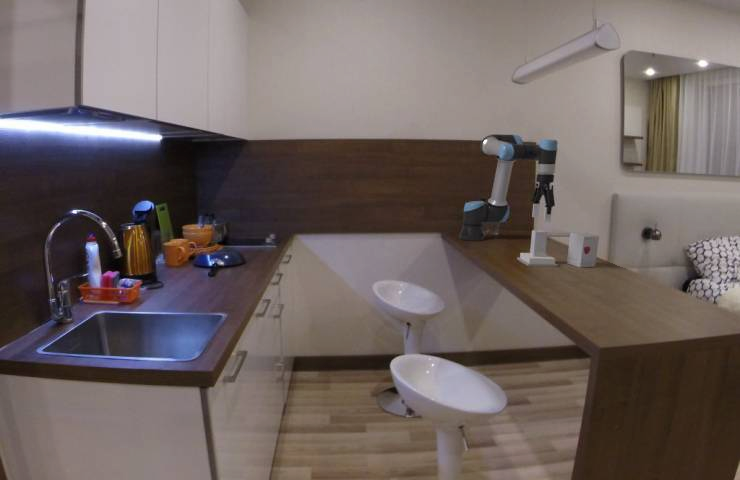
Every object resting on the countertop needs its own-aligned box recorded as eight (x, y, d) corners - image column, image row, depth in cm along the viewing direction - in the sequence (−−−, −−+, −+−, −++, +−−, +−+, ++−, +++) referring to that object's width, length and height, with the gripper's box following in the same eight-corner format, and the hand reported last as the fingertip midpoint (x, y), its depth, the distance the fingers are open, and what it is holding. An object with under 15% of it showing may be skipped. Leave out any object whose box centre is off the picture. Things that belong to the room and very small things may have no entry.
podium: (517, 259, 210) (517, 252, 210) (544, 259, 211) (545, 252, 210) (527, 266, 197) (528, 258, 196) (557, 266, 197) (558, 259, 196)
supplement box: (579, 267, 196) (583, 236, 193) (566, 263, 204) (569, 232, 201) (595, 267, 198) (600, 235, 195) (581, 262, 207) (585, 232, 204)
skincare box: (541, 254, 205) (544, 230, 203) (545, 256, 201) (548, 231, 199) (529, 254, 205) (531, 229, 203) (533, 256, 201) (535, 231, 198)
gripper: (527, 172, 208) (523, 215, 212) (549, 174, 183) (544, 223, 188) (542, 173, 208) (538, 215, 212) (566, 175, 184) (560, 223, 188)
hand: (540, 219), depth 200 cm, fingers open, 13 cm apart
